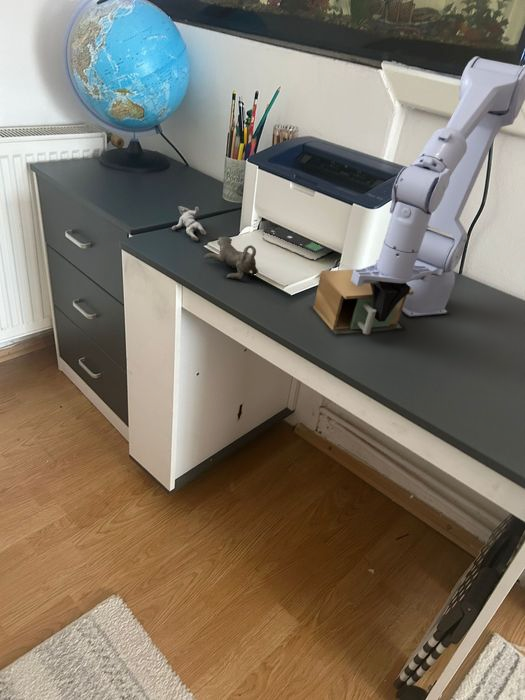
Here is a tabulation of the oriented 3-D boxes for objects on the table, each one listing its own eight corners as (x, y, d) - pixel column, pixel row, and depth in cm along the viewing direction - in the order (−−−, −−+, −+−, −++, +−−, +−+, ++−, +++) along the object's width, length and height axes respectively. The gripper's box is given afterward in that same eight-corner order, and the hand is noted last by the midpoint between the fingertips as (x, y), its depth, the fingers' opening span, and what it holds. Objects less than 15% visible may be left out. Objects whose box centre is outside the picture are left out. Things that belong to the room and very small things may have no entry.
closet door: (387, 323, 97) (397, 294, 94) (399, 335, 94) (409, 304, 91) (349, 327, 94) (357, 296, 90) (360, 339, 91) (369, 308, 88)
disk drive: (261, 240, 123) (314, 262, 117) (262, 229, 122) (316, 250, 115) (285, 231, 131) (336, 250, 124) (287, 220, 129) (339, 239, 123)
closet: (374, 303, 105) (385, 268, 100) (401, 328, 98) (414, 291, 93) (312, 308, 99) (321, 270, 95) (336, 335, 92) (346, 296, 88)
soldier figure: (180, 246, 116) (160, 211, 122) (192, 255, 121) (172, 221, 126) (208, 224, 115) (186, 190, 120) (218, 234, 119) (197, 201, 125)
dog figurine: (261, 280, 106) (267, 246, 102) (240, 286, 102) (245, 251, 98) (223, 257, 112) (226, 224, 108) (202, 262, 109) (205, 228, 105)
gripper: (422, 234, 89) (399, 303, 96) (350, 236, 83) (331, 310, 91) (449, 251, 84) (422, 324, 91) (374, 255, 78) (352, 331, 86)
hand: (378, 318), depth 91 cm, fingers closed
